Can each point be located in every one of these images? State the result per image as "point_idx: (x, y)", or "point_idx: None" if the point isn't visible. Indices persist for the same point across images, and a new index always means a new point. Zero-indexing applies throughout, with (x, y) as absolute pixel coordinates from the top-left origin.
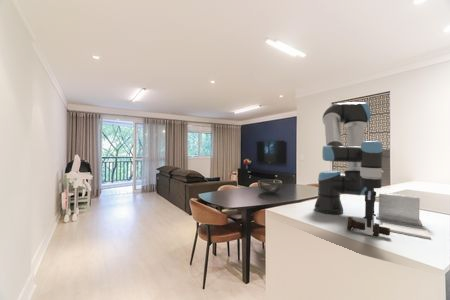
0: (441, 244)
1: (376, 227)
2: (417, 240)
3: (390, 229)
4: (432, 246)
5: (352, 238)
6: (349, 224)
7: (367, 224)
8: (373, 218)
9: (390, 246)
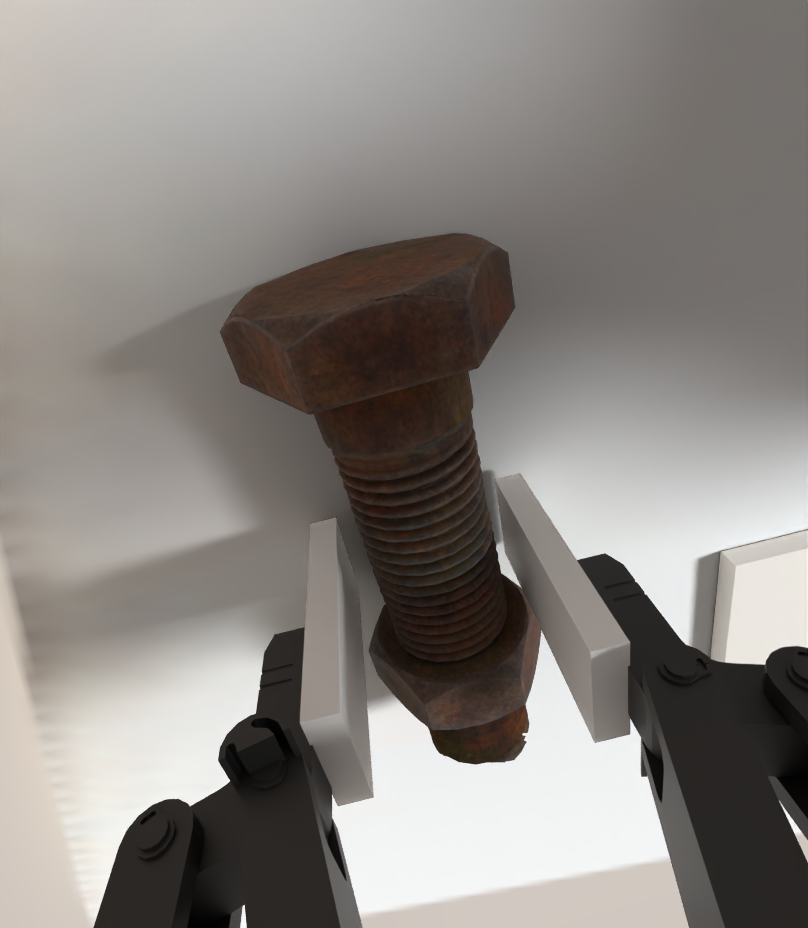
0: (613, 857)
1: (400, 693)
2: (587, 782)
3: (731, 630)
4: (515, 849)
5: (4, 466)
6: (234, 359)
7: (265, 681)
8: (578, 705)
9: (204, 744)
